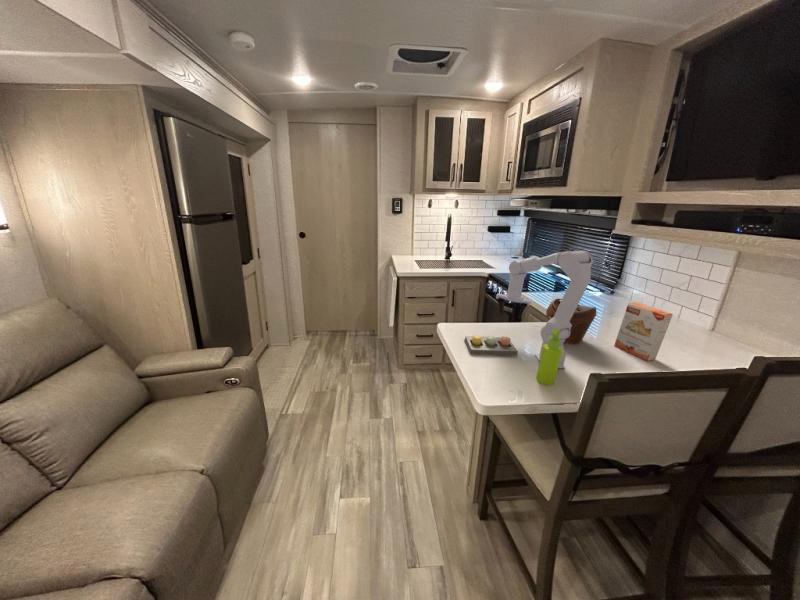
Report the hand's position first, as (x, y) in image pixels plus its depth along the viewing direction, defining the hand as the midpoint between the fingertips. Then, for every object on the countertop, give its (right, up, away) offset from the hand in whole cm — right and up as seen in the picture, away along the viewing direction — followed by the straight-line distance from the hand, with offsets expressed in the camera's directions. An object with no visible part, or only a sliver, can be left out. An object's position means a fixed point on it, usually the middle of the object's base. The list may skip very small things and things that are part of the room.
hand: (510, 316), depth 137 cm
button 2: (-6, -12, -9) cm, 15 cm away
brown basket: (+27, -10, +5) cm, 30 cm away
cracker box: (+51, -15, -6) cm, 54 cm away
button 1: (-18, -11, -9) cm, 23 cm away
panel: (-12, -13, -8) cm, 19 cm away
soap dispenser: (+1, -21, -29) cm, 37 cm away
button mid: (-12, -11, -9) cm, 18 cm away
